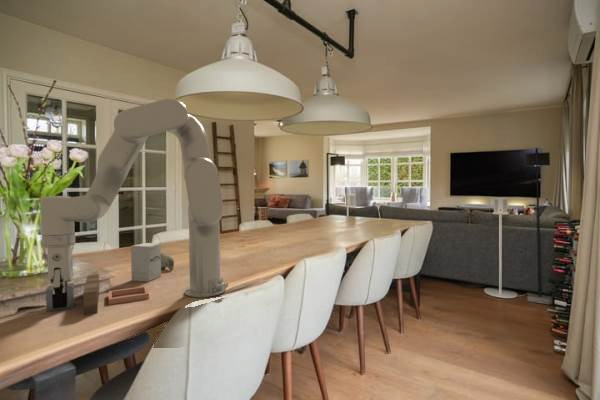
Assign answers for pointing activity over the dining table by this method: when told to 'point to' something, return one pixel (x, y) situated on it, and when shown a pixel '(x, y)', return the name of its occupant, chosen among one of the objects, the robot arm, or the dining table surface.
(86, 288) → the board
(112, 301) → the key collar
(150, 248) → the supplement box
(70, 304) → the bar
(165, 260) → the decorative bird
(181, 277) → the dining table surface
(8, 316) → the dining table surface
